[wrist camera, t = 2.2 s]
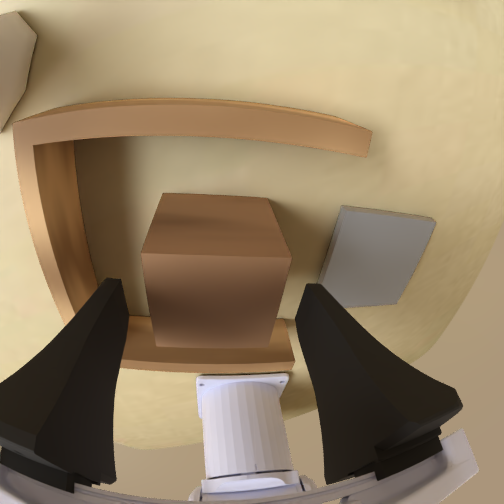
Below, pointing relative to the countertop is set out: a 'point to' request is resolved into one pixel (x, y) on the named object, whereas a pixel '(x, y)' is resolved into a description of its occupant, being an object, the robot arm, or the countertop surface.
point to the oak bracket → (150, 124)
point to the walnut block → (214, 271)
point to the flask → (14, 61)
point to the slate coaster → (373, 255)
